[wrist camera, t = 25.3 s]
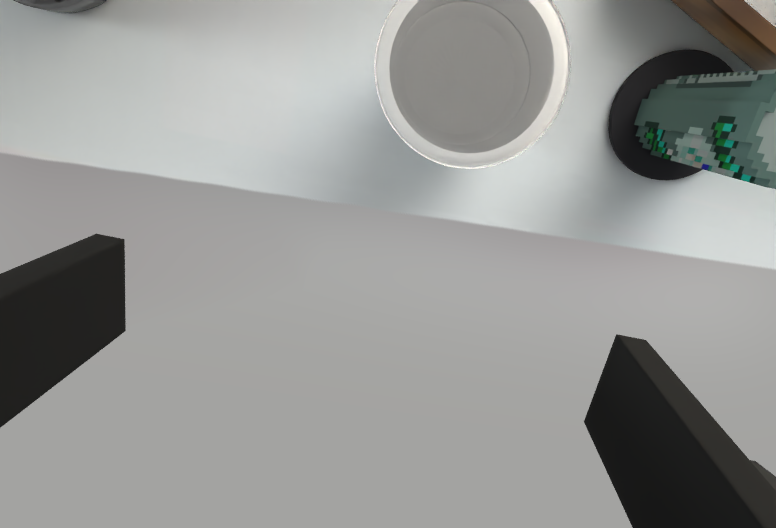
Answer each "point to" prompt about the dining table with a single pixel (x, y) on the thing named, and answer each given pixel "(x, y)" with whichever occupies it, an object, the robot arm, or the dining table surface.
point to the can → (715, 123)
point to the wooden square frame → (736, 29)
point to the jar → (472, 76)
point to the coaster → (638, 89)
